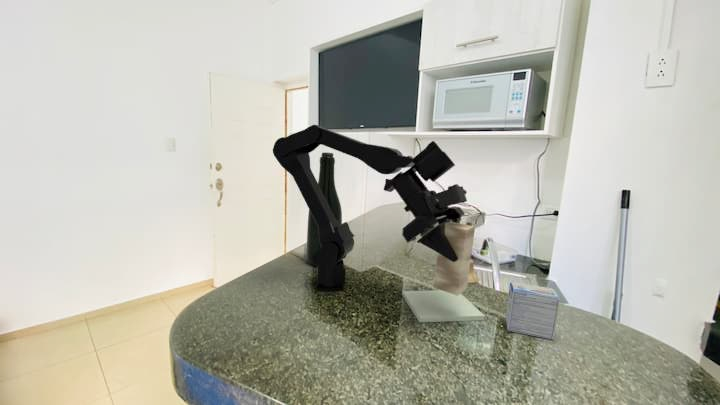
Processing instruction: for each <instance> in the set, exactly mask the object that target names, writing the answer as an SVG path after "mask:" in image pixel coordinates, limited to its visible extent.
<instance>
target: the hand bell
mask: <svg viewBox="0 0 720 405" xmlns="http://www.w3.org/2000/svg"><path fill="white" fill-rule="evenodd" d="M465 225H470V226H473V224H472V222H469V221H467V222H466V224H465ZM479 282H480V279H479V276H478V275H477V274H476V271H475V268H474V260H473V259H472V258H471V261H470V268H469V276H468V284H476V283H479Z"/></svg>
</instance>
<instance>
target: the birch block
mask: <svg viewBox="0 0 720 405" xmlns="http://www.w3.org/2000/svg"><path fill="white" fill-rule="evenodd" d="M475 229H476V226H473V225H472V226H470V225H466V224H464V223H461V222H460V223H455V222H448V223H445V232H444V233H445V236H446V237H447V239H448V241H449V243H450V244H451V246H452V248H453V250H454V251H455V253H456V255H457V257H458V260H457V261H455V262H452V261H451V260H449V259H447V258H446V257H444V256H442V255H441V254H439V253H438V252H437V256H436V264H435V273H434V282H433V288H434V289H437V290H443V291H445V292H448V293H451V294H454V295H457V296H458V295H459V294H463V292H464V291H465V290H467V289H468V284H469V283H468V276H469V268H470V261H471V259H472V252H473V243H474V237H475Z"/></svg>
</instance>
